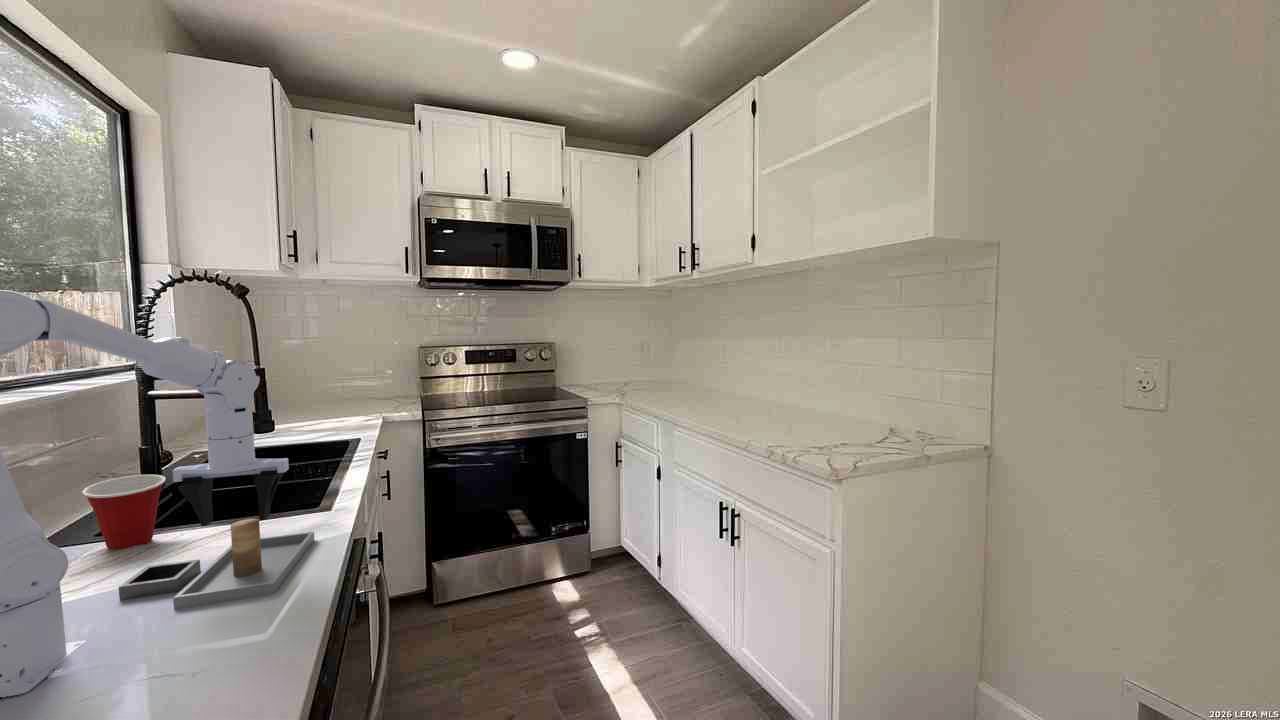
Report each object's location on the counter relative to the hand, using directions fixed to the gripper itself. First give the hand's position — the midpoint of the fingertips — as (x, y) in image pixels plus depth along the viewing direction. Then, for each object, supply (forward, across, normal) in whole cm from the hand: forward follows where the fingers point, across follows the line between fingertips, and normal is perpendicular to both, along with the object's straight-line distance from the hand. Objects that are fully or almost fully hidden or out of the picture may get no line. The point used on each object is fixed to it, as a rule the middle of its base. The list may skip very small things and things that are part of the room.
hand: (236, 520), depth 80 cm
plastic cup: (+10, +25, -22) cm, 35 cm away
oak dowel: (+8, -1, 0) cm, 9 cm away
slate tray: (+9, -2, -1) cm, 9 cm away
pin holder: (+9, +10, 0) cm, 14 cm away
